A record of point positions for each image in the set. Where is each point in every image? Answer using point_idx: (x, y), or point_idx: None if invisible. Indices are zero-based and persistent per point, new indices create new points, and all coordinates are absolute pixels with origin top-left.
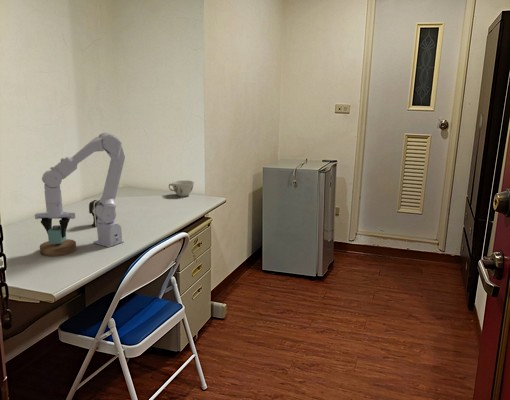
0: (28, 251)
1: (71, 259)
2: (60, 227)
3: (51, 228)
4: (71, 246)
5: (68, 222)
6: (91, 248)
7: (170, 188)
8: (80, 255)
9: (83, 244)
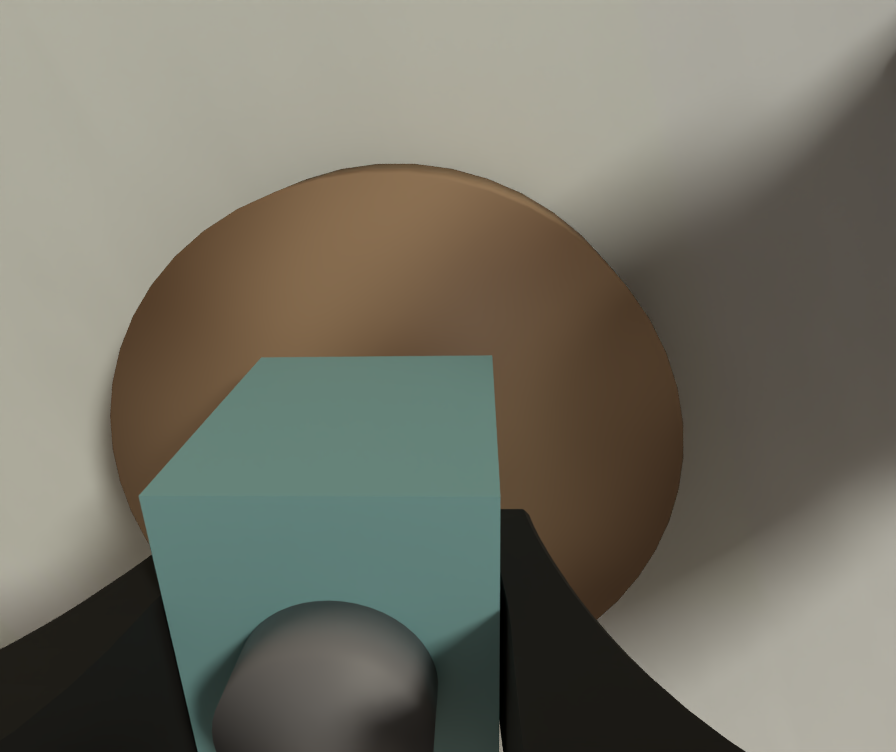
0: (7, 450)
1: (682, 702)
2: (395, 592)
3: (189, 661)
4: (648, 558)
5: (693, 724)
6: (889, 339)
7: None
8: (766, 596)
9: (721, 129)
